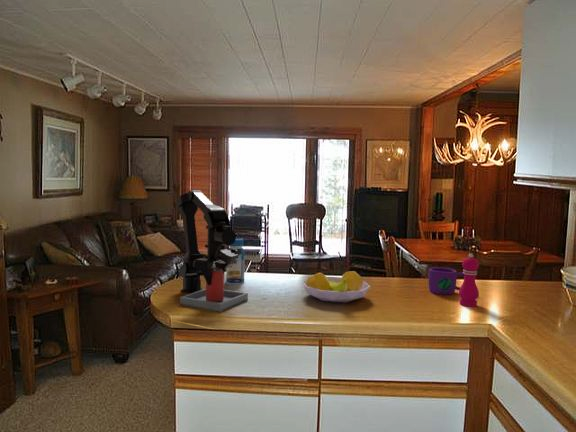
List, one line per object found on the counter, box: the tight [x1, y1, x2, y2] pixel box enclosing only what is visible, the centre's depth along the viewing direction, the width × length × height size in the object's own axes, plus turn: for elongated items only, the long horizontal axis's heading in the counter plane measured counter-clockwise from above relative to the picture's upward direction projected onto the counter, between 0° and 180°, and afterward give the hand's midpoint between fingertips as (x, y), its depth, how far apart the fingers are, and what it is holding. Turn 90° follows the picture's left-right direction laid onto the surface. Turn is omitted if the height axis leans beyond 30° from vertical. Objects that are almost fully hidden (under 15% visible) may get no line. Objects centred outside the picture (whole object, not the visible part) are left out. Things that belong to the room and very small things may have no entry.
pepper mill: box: [458, 253, 480, 308], centre depth 174 cm, size 7×7×20 cm
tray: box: [179, 288, 249, 313], centre depth 169 cm, size 18×18×3 cm
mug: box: [428, 266, 464, 296], centre depth 192 cm, size 17×11×10 cm, turn 83°
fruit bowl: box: [302, 270, 371, 304], centre depth 178 cm, size 28×27×11 cm
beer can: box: [205, 267, 225, 302], centre depth 168 cm, size 7×7×12 cm
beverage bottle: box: [225, 237, 246, 285], centre depth 201 cm, size 8×8×20 cm
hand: (214, 283), depth 168 cm, fingers closed on beer can, 6 cm apart
